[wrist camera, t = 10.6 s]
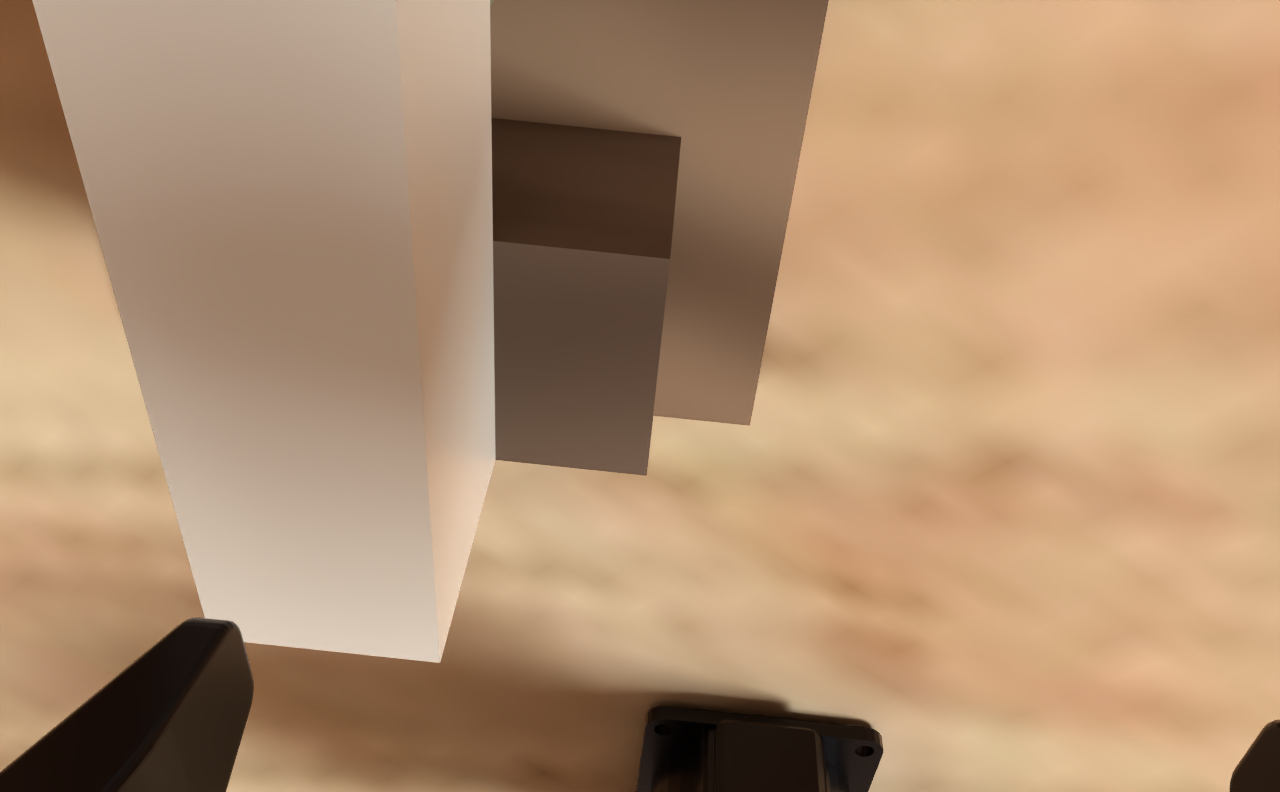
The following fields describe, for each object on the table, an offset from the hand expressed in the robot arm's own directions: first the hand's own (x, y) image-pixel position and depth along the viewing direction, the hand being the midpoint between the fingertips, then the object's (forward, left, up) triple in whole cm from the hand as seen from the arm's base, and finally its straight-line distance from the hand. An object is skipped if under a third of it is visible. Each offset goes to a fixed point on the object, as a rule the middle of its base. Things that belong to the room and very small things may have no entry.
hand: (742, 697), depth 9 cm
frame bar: (+4, +5, -7) cm, 9 cm away
